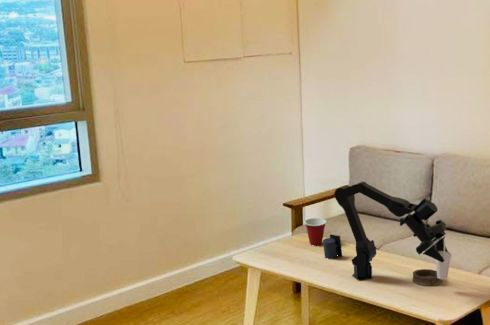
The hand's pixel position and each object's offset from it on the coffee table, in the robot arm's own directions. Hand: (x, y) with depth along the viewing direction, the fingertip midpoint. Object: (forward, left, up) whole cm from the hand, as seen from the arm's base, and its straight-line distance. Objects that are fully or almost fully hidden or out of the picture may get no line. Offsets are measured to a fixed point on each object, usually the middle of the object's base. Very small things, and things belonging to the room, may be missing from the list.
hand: (446, 259), depth 240 cm
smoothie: (-1, +1, -8) cm, 8 cm away
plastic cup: (-22, +78, -13) cm, 82 cm away
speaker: (-23, +56, -13) cm, 62 cm away
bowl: (0, +13, -13) cm, 19 cm away
